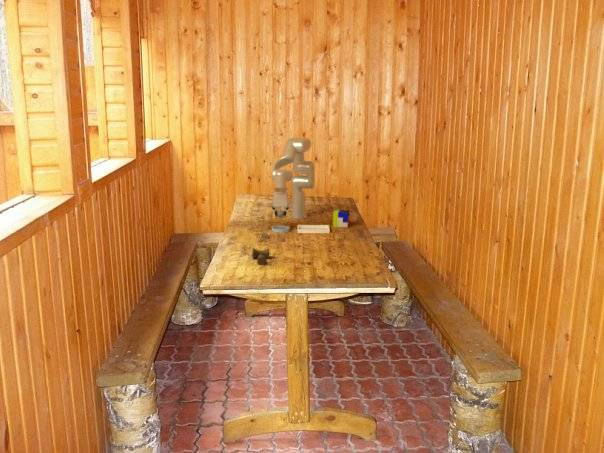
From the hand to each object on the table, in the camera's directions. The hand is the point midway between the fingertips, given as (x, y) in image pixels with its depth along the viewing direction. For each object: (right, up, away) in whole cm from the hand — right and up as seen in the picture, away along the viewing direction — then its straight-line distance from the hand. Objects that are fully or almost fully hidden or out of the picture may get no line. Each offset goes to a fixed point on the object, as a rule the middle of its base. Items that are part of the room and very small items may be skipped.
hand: (280, 216), depth 395 cm
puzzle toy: (+42, -6, +19) cm, 47 cm away
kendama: (-8, -26, -67) cm, 72 cm away
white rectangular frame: (+22, -10, +3) cm, 24 cm away
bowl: (0, -9, +2) cm, 10 cm away
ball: (0, -1, 0) cm, 1 cm away
